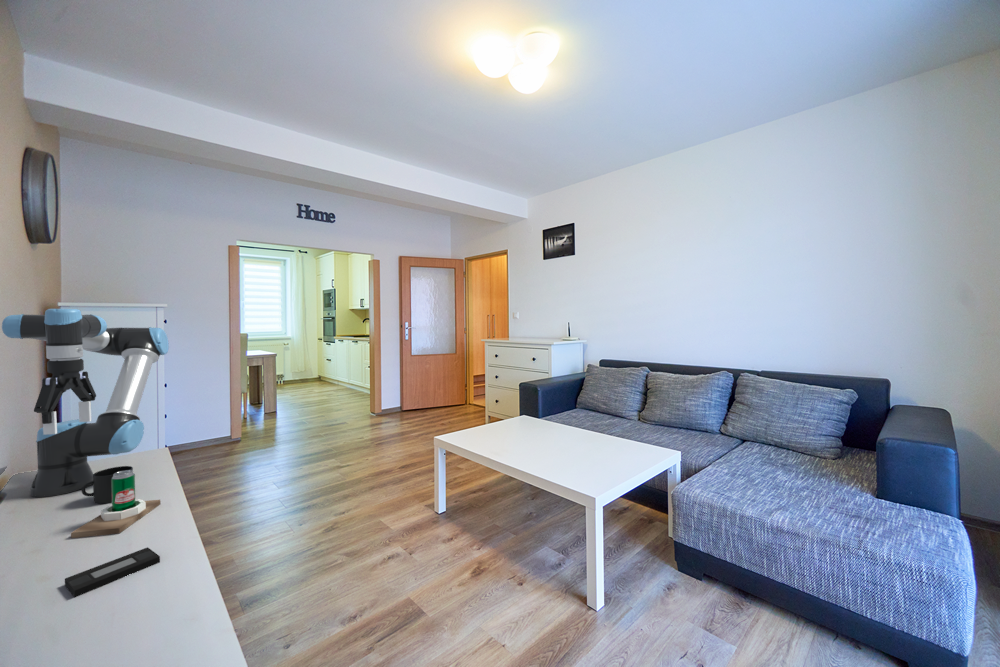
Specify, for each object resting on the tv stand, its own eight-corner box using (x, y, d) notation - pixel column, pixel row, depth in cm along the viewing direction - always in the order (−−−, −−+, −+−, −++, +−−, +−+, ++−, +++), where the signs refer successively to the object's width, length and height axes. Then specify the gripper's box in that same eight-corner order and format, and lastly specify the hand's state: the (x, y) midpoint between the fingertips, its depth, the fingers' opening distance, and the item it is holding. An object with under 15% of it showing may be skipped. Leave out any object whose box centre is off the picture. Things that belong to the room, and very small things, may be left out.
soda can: (114, 518, 113) (113, 477, 113) (110, 513, 116) (109, 473, 116) (137, 511, 118) (136, 471, 117) (132, 506, 120) (132, 468, 120)
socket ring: (117, 507, 120) (116, 501, 120) (151, 504, 122) (151, 498, 122) (93, 522, 111) (93, 515, 111) (131, 518, 113) (131, 511, 113)
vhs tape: (64, 587, 87) (64, 578, 87) (147, 555, 99) (147, 547, 99) (74, 599, 83) (74, 590, 83) (160, 564, 95) (159, 556, 95)
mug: (81, 501, 128) (80, 473, 128) (131, 489, 137) (130, 463, 137) (83, 510, 122) (82, 481, 122) (135, 497, 131) (134, 470, 131)
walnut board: (119, 507, 123) (119, 503, 123) (160, 504, 126) (160, 499, 126) (71, 538, 106) (71, 532, 106) (119, 533, 108) (119, 528, 108)
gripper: (46, 363, 109) (50, 439, 110) (108, 354, 133) (111, 416, 134) (11, 364, 107) (15, 441, 108) (81, 355, 131) (84, 417, 132)
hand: (68, 427), depth 121 cm, fingers open, 13 cm apart
